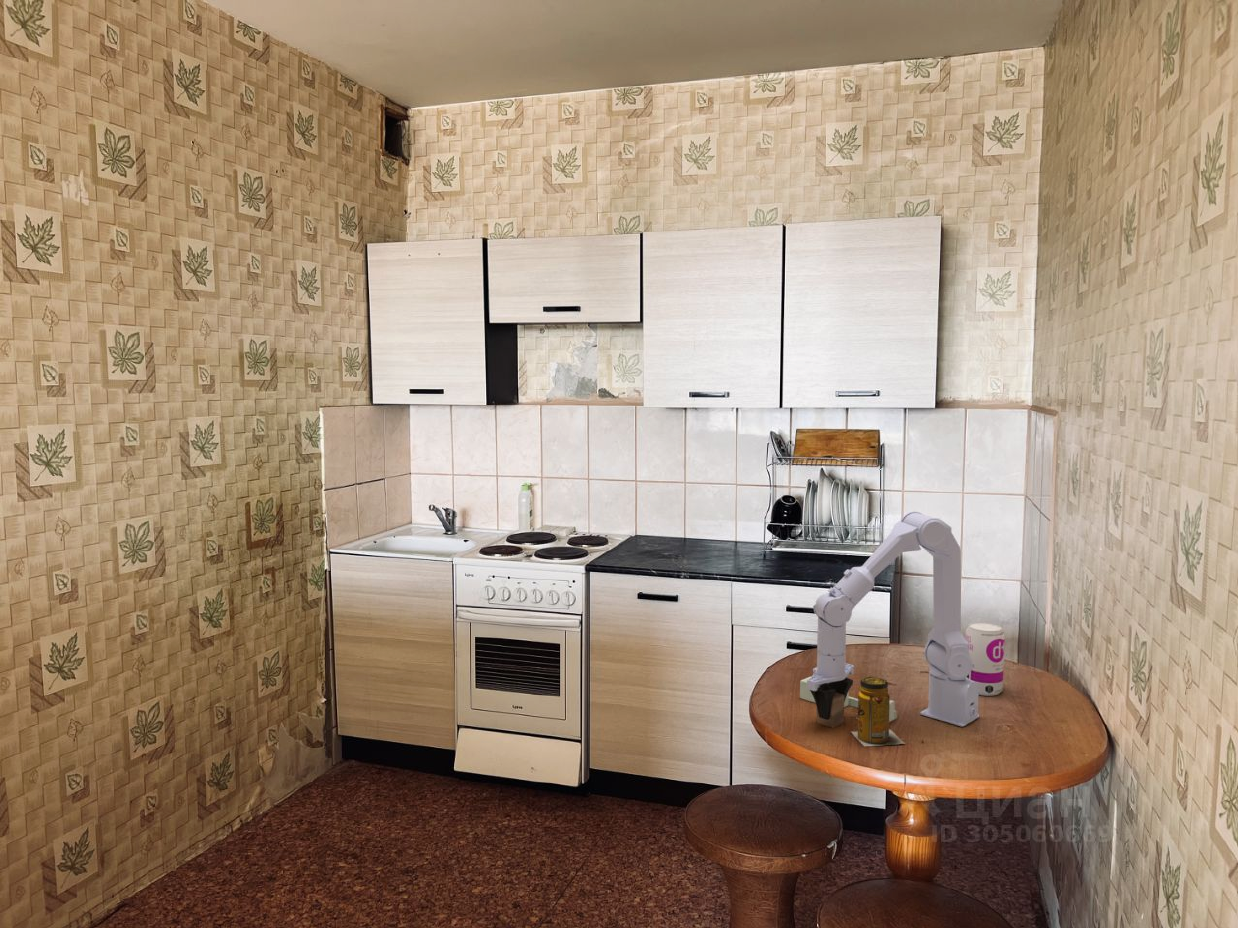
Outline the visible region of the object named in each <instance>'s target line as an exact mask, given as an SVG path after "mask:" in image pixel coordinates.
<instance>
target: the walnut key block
mask: <svg viewBox="0 0 1238 928" xmlns="http://www.w3.org/2000/svg"><path fill="white" fill-rule="evenodd" d="M816 723H818V724H819V725H823V726H826V727H829V728H832V729H834V728H836V727H838V726H841V725H842V724H844V723H845V707H844V695H843V694H840V693H836V692H835V694H834V697H833V700H832V704H831V713H830V718H829V719H828V720H826V719H823V718H820V717H819V714H818V710H817V709H816Z"/></svg>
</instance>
